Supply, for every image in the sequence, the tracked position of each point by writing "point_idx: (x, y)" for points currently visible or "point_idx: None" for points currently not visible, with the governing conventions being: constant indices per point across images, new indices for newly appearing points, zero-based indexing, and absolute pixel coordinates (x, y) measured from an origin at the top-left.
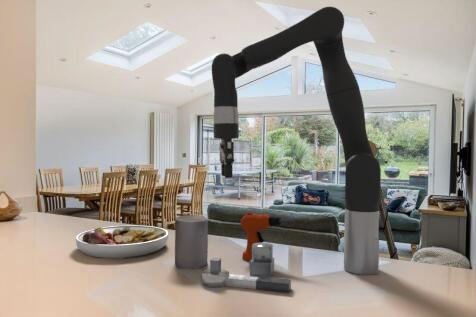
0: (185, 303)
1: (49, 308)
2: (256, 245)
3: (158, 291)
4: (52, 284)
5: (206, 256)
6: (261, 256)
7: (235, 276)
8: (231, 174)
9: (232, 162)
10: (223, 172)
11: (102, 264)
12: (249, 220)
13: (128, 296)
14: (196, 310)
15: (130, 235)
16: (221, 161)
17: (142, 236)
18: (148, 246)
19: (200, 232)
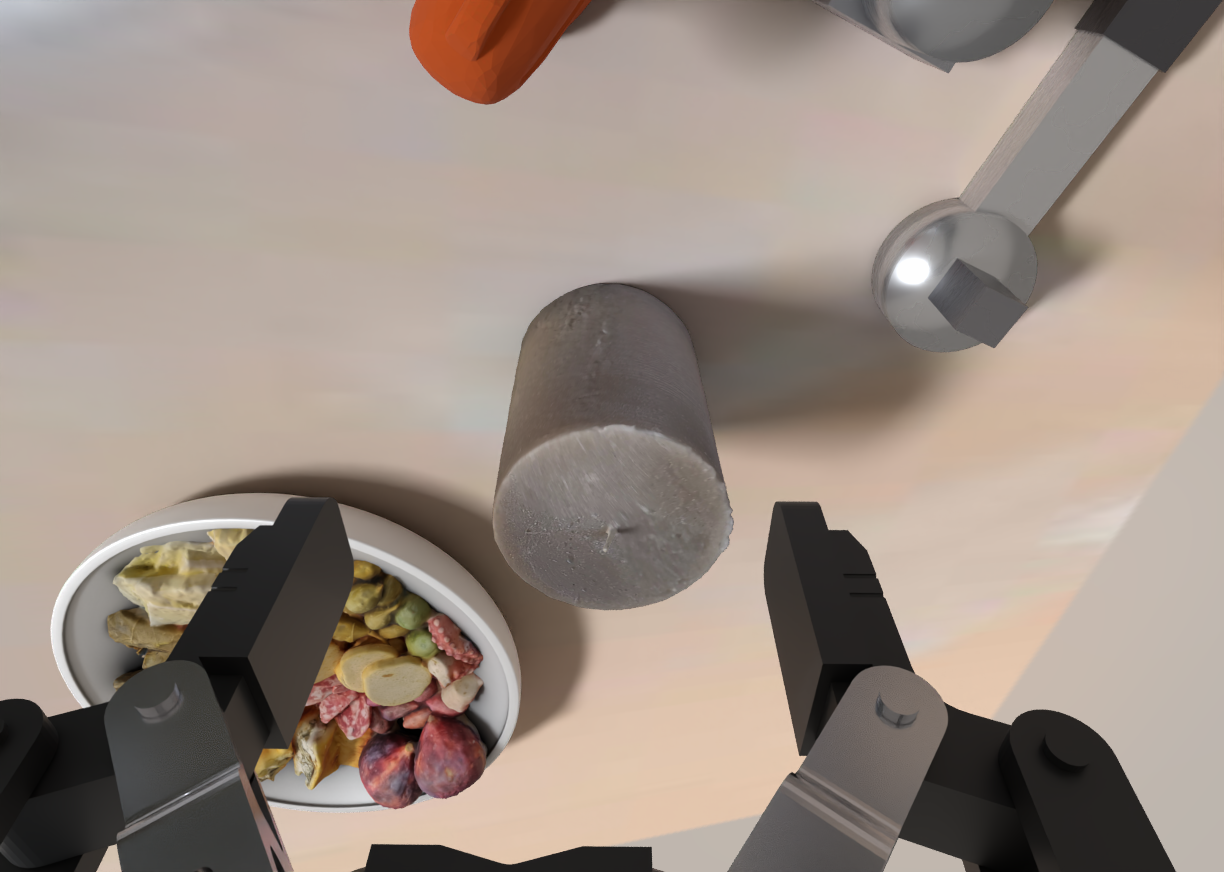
0: (1124, 399)
1: (970, 711)
2: (974, 26)
3: (954, 486)
4: (771, 741)
5: (649, 311)
6: None
7: (1028, 181)
8: (824, 539)
9: (1046, 728)
10: (334, 596)
11: (577, 668)
12: (559, 21)
13: (963, 565)
14: (1213, 364)
15: None
16: (264, 801)
17: None
18: (459, 576)
19: (708, 430)
